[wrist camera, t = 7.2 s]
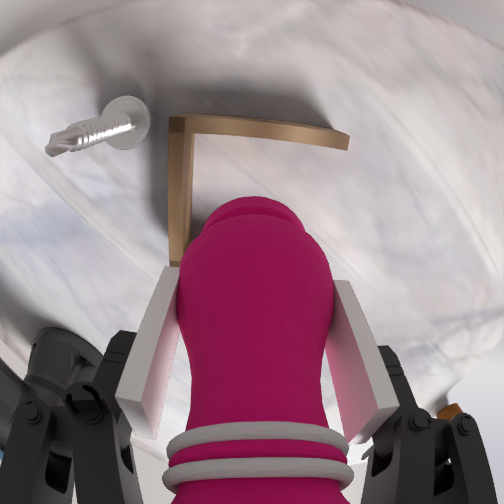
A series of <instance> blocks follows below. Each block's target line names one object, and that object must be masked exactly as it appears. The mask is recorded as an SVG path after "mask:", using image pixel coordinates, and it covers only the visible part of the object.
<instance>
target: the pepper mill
mask: <svg viewBox="0 0 504 504" xmlns="http://www.w3.org/2000/svg"><path fill="white" fill-rule="evenodd" d="M179 268H180V270H179V273H180V276H179V283H178V291H177V304H176V313H177V321H178V325H179V328H180V331H181V334H182V337H183V340H184V343H185V346H186V349H187V353H188V357H189V361H190V368H191V376H192V383H191V406H190V413H189V417H188V421H187V426H186V430H185V432H183V433H181V434H179V435H177V436H176V437H174V438H173V439H172V440H171V441H170V442H169V444H168V446H167V457H168V458H169V464H168V465H169V469H168V470H166V471H165V472H164V474H163V476H162V481H163V484H164V485H165V487H166V488H167V489H168V490H170V491H171V492H173V493H174V494H176V496H175V498H174V500H173V501H172V503H171V504H350V503H349V502H348V501H347V500H346V499H345V497H344V496H343V495H342V493H341V492H340V491H342V490H343V489H345V488H346V487H347V486H348V485H349V484H350V483H351V482H352V481H353V478H354V472H353V470H352V469H351V468H350V467H349V466H348V465H347V458H346V456H347V453H348V450H349V444H348V442H347V440H346V439H345V438H344V436H342V435H341V434H340V433H338V432H336V431H334V430H332V429H329V426H328V422H327V419H326V415H325V411H324V408H323V404H322V393H321V383H320V377H321V366H322V357H323V353H324V347H325V343H326V340H327V336H328V333H329V329H330V325H331V322H332V318H333V313H334V284H333V279H332V274H331V271H330V267H329V263H328V261H327V258H326V256H325V254H324V252H323V251H322V249H321V247H320V246H319V244H318V243H317V242H316V241H315V240H314V239H313V238H312V236H311V235H309V234H308V233H307V232H305V229H304V227H303V225H302V223H301V221H300V220H299V218H298V217H297V216H296V215H295V213H294V212H293V211H291V210H290V209H289V208H288V207H287V206H285V205H284V204H282V203H280V202H278V201H275V200H272V199H269V198H266V197H258V196H252V197H242V198H237V199H234V200H231V201H229V202H227V203H225V204H223V205H222V206H220V207H219V208H218V209H216V210H215V211H214V212H213V213H212V214H211V215H210V217H209V218H208V219H207V221H206V223H205V224H204V227H203V229H202V231H201V234H200V235H199V236H198V237H196V238H195V239H194V241H193V242H192V243H191V244H190V246H189V247H188V248H187V250H186V252H185V253H184V255H183V257H182V259H181V262H180V265H179Z"/></svg>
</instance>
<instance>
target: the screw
mask: <svg viewBox="0 0 504 504" xmlns="http://www.w3.org/2000/svg"><path fill="white" fill-rule="evenodd" d="M150 126H151V115H150V111H149V109H148V107H147V106H146V104H145V103H144V102H143V101H142V100H141V99H139V98H137V97H134V96H120V97H117V98H115V99H113V100H112V101H111V102H110V103H108V105H107V106H106V107H105V109H104V110H103V112H102V115H101V117H98V118H93V119H89V120H84V121H81V122H76V123H74V124H71V125H70V126H68V127H67V129H66V130H63V131H60V132H56V133H53V134H51V137H50V141H49V144H48V145H47V146H46V147H45V151H46V153H47V154H48V155H49V156H51V157H55V156H57V155H59V154H62V153H64V152H66V151H70V152H74V151H80V150H82V149H85V148H87V147H90V146H92V145H95V144H98V143H100V142H103V141H106V142H107V143H108V144H109V145H110V146H112V147H114V148H116V149H120V150H128V149H131V148H134V147H136V146H137V145H139V144H140V143H141V142H143V141H144V139H145V138H146V137H147V135H148V133H149V130H150Z"/></svg>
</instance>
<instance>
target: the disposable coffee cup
mask: <svg viewBox="0 0 504 504" xmlns="http://www.w3.org/2000/svg"><path fill="white" fill-rule="evenodd" d="M459 413H463V412H462V410H461V409H460V407H459V406H458V404H457V403H454V404H451V405H449V406H447V407H445V408H444V409H442V410H441V411H440V412H439V413H438V414H437V419H445V420H451V419H452V418H453V417H454V416H455V415H456V414H459Z"/></svg>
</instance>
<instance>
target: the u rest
mask: <svg viewBox="0 0 504 504" xmlns="http://www.w3.org/2000/svg"><path fill="white" fill-rule="evenodd" d="M195 133H201V134H219V135H234V136H246V137H256V138H266V139H275V140H283V141H291V142H298V143H305V144H312V145H318V146H324V147H330V148H336V149H341V150H347V149H348V143H349V138H350V136H349V135H347V134H345V133H342V132H340V131H337V130H335V129H330V128H325V127H319V126H313V125H307V124H301V123H294V122H286V121H279V120H270V119H261V118H251V117H240V116H227V115H209V114H179V115H175V116H171V117H169V139H168V238H169V261H170V267H179V265H180V262H181V259H182V257H183V255H184V253H185V252H186V250H187V248H188V247H189V246H190V244H191V243H192V242H193V241H194V239H195V238H191V218H192V179H193V155H194V137H195Z"/></svg>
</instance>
